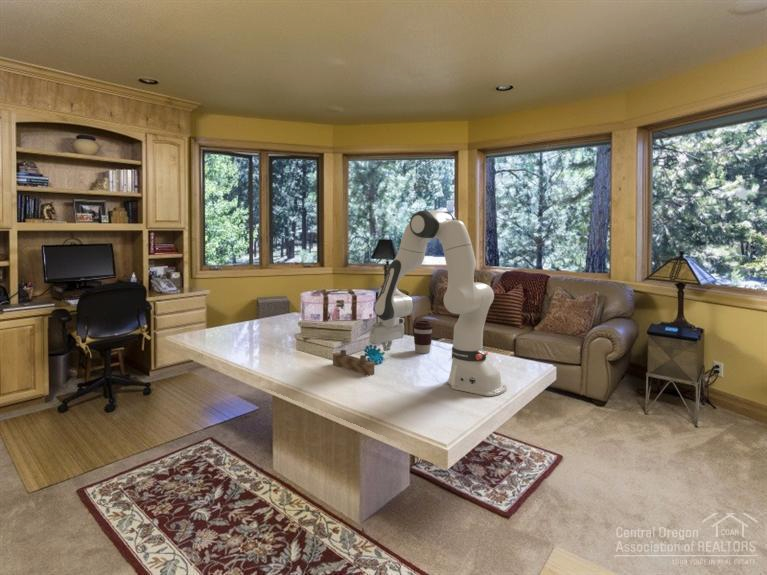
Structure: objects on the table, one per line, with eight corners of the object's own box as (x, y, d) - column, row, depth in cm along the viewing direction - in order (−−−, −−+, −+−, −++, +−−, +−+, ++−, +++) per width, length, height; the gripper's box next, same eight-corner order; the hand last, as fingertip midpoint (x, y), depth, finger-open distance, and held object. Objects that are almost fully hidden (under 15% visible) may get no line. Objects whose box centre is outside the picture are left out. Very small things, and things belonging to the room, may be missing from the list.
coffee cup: (408, 352, 217) (409, 322, 215) (418, 348, 225) (418, 318, 224) (427, 355, 212) (427, 324, 210) (436, 351, 220) (436, 321, 218)
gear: (369, 363, 193) (362, 343, 198) (363, 370, 196) (356, 351, 201) (389, 362, 200) (382, 343, 205) (382, 369, 203) (375, 350, 208)
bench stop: (374, 374, 183) (374, 357, 182) (369, 376, 181) (369, 359, 180) (337, 363, 198) (337, 347, 197) (332, 364, 195) (332, 349, 194)
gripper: (376, 325, 193) (376, 356, 195) (406, 318, 208) (406, 347, 210) (366, 323, 197) (365, 353, 199) (396, 316, 212) (395, 345, 214)
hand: (386, 350), depth 205 cm, fingers closed
